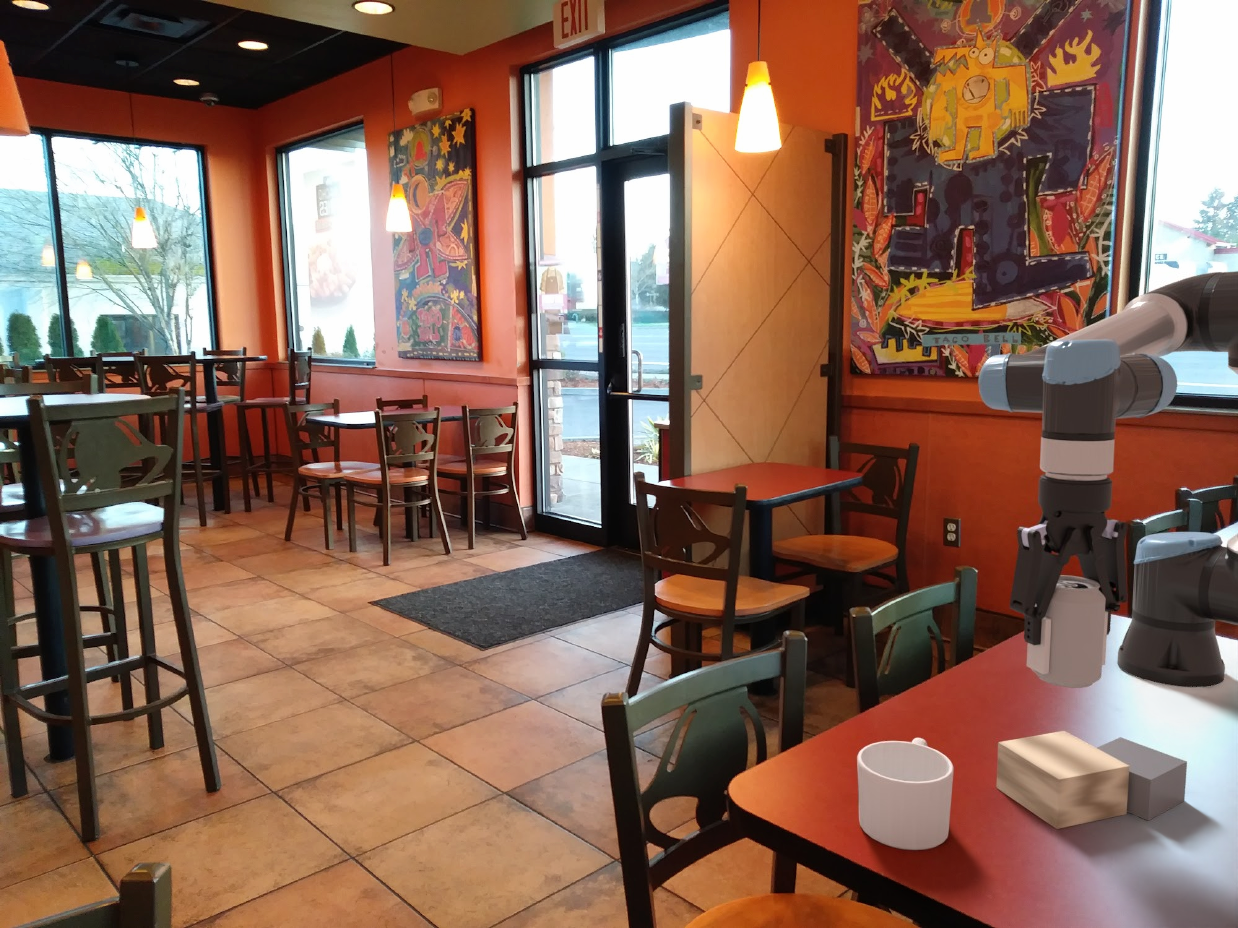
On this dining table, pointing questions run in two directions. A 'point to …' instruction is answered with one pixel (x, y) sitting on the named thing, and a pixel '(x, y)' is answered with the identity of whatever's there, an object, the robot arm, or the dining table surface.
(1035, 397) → the robot arm
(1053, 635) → the can
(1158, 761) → the slate block
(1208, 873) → the dining table surface
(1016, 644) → the dining table surface
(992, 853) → the dining table surface
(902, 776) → the mug
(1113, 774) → the birch block
